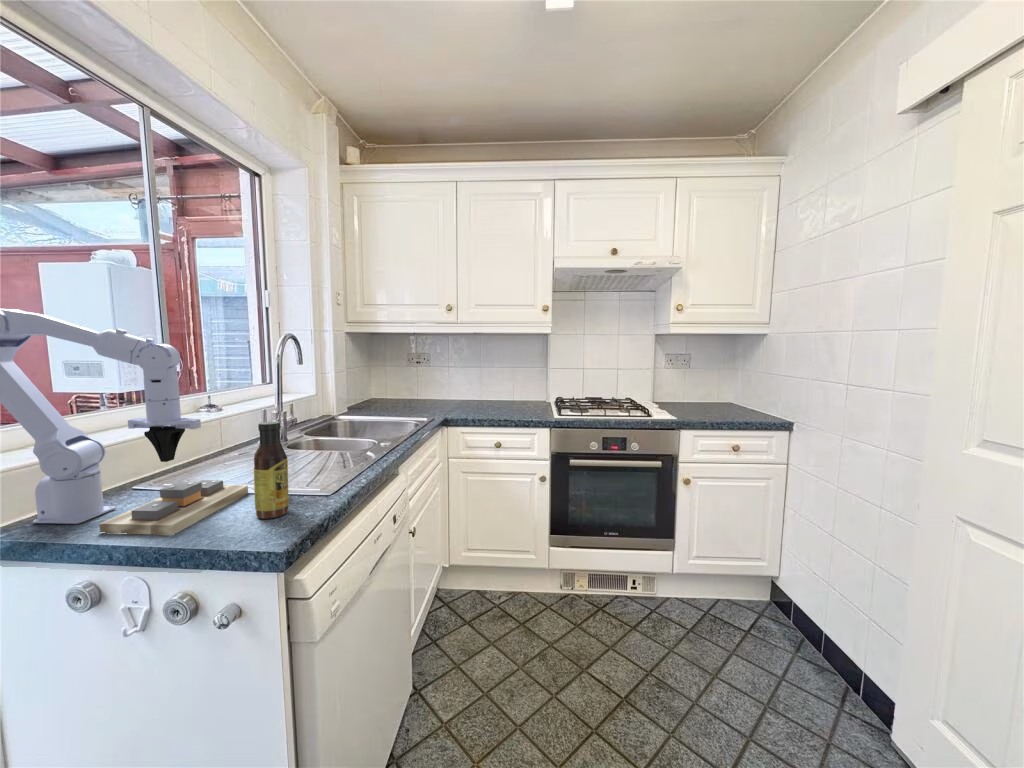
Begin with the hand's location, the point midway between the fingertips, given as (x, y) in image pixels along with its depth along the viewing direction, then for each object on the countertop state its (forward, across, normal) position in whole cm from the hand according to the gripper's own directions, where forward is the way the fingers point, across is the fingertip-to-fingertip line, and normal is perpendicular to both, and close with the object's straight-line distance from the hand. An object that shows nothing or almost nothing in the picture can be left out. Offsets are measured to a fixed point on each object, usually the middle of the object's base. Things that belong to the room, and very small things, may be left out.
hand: (167, 460), depth 91 cm
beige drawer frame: (+10, +5, -3) cm, 12 cm away
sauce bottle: (+11, +25, -3) cm, 27 cm away
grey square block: (+10, +5, -9) cm, 14 cm away
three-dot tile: (+10, +5, +4) cm, 12 cm away
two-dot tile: (+8, +5, -3) cm, 10 cm away
